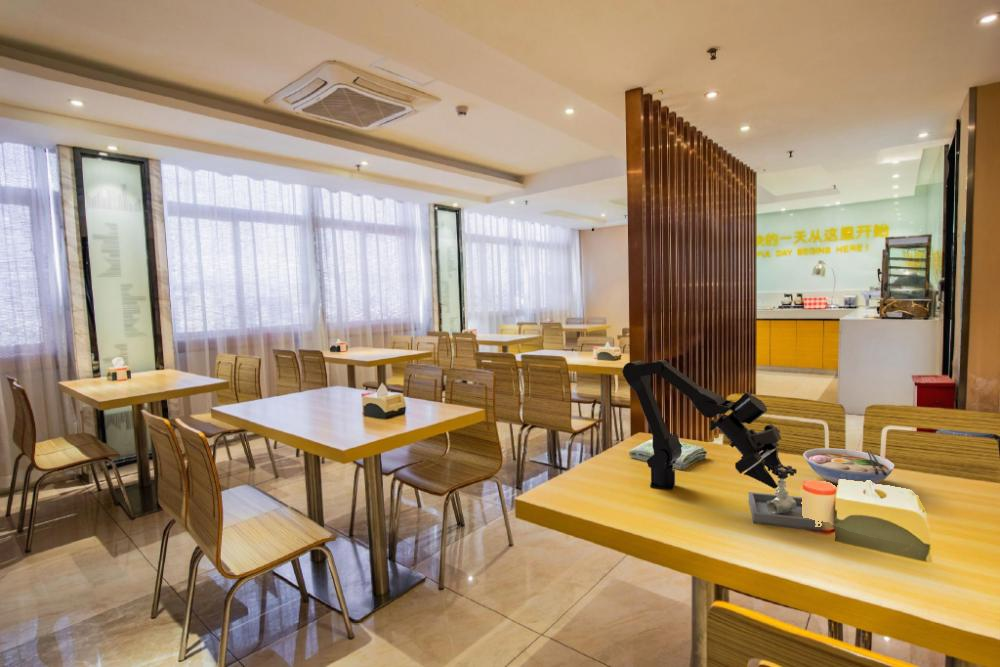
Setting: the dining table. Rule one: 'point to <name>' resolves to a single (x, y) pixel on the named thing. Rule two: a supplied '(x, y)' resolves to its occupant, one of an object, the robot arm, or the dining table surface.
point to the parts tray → (785, 520)
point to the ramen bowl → (848, 465)
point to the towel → (687, 458)
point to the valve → (781, 491)
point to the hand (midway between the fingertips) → (781, 482)
